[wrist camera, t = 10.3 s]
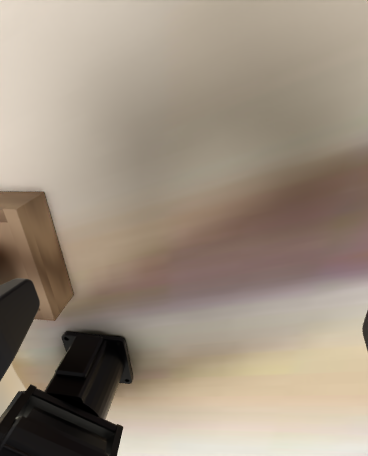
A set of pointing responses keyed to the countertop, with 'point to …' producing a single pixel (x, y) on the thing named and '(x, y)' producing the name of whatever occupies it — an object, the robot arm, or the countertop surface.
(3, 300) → the robot arm
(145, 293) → the countertop surface
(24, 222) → the brown wooden tray
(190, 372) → the countertop surface
